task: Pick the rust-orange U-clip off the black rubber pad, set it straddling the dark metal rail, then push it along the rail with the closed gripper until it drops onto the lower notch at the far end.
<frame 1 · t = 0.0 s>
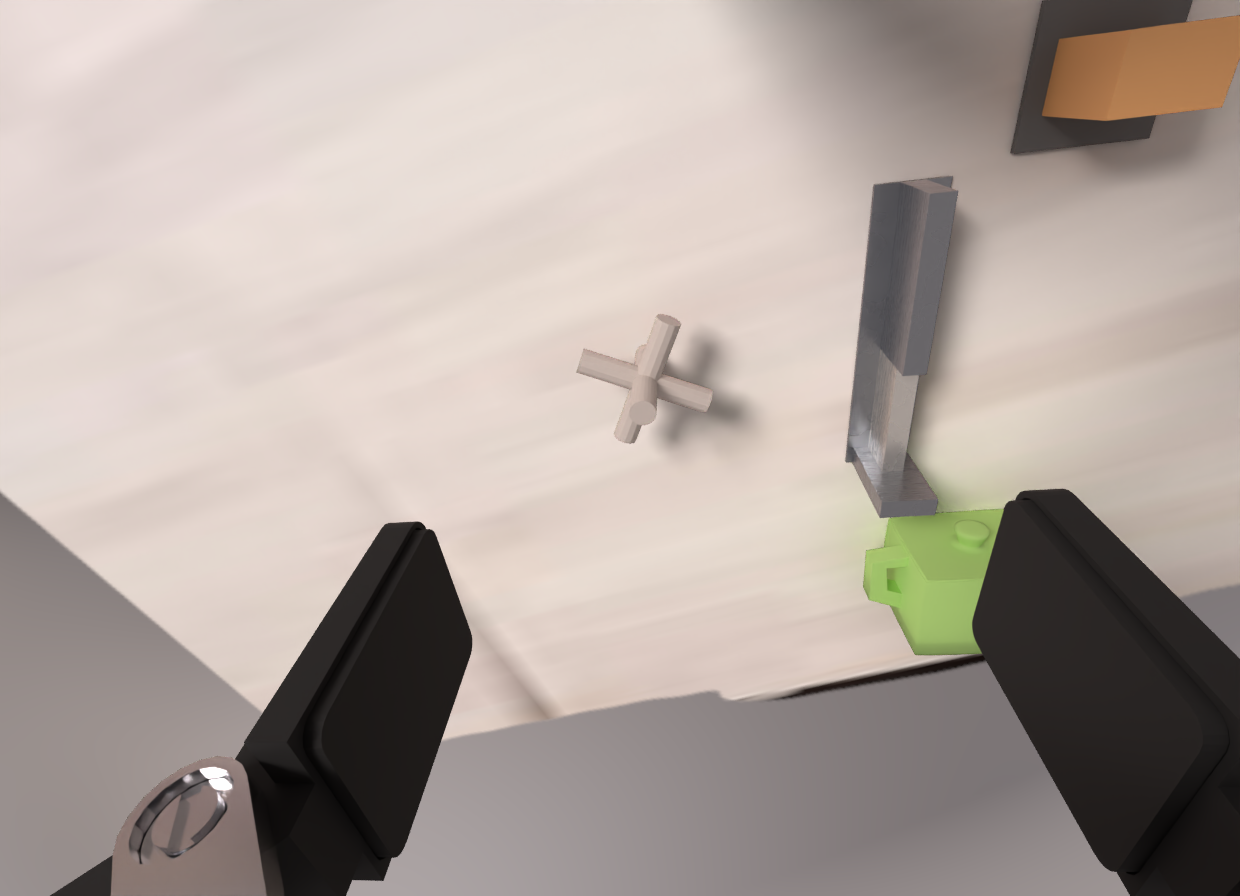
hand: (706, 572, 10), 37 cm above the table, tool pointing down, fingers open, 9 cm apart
rail: (912, 180, 39), on the table
clip: (1099, 72, 35), resting on pad
green square teapot: (950, 536, 55), on the table
pipe connector: (646, 353, 47), on the table
pad: (1095, 72, 36), on the table
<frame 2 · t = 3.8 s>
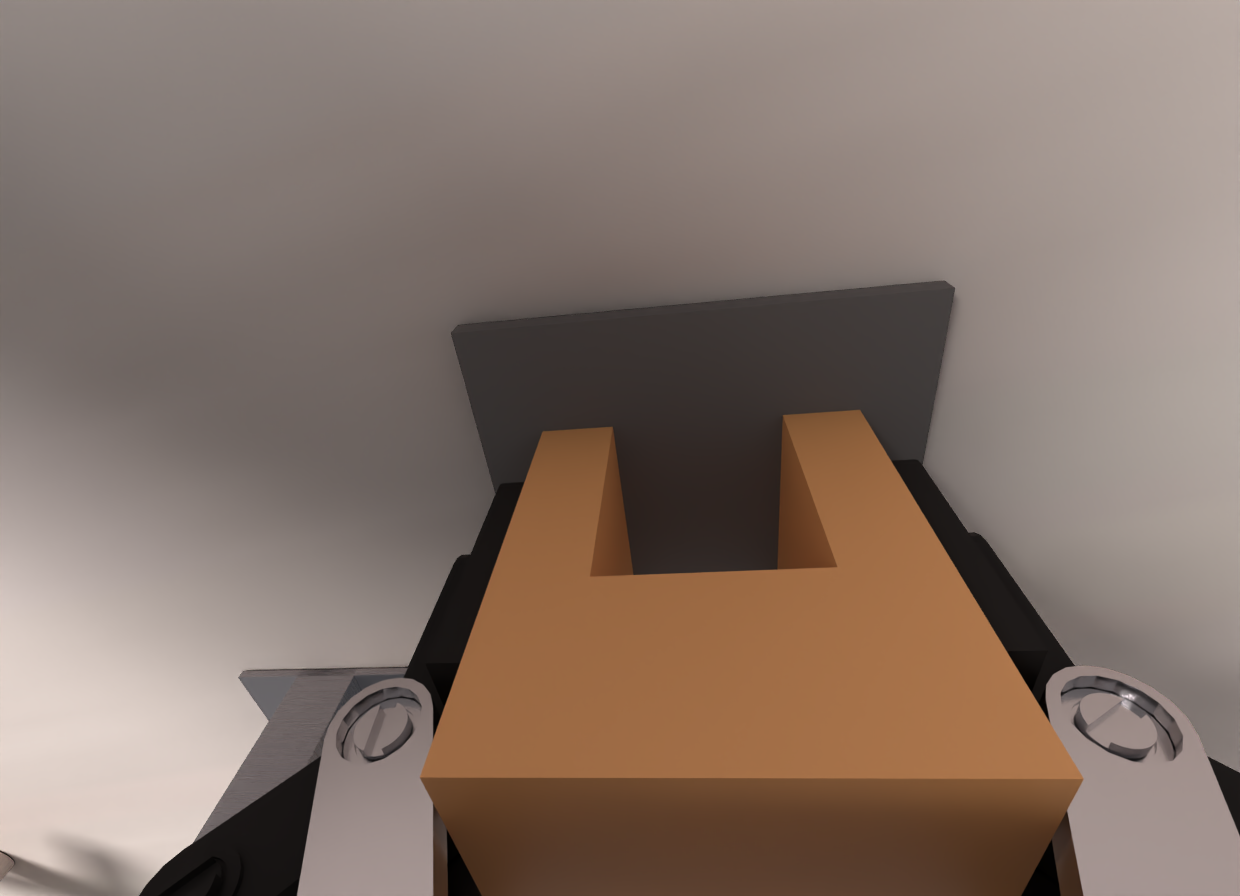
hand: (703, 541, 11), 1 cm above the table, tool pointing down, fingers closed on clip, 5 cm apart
rail: (329, 669, 15), on the table
clip: (701, 510, 11), resting on pad, touching gripper
pad: (700, 497, 12), on the table
when the fingers open (3 cm above the table, at t = 9.1 s): clip stays where it is, resting on rail.
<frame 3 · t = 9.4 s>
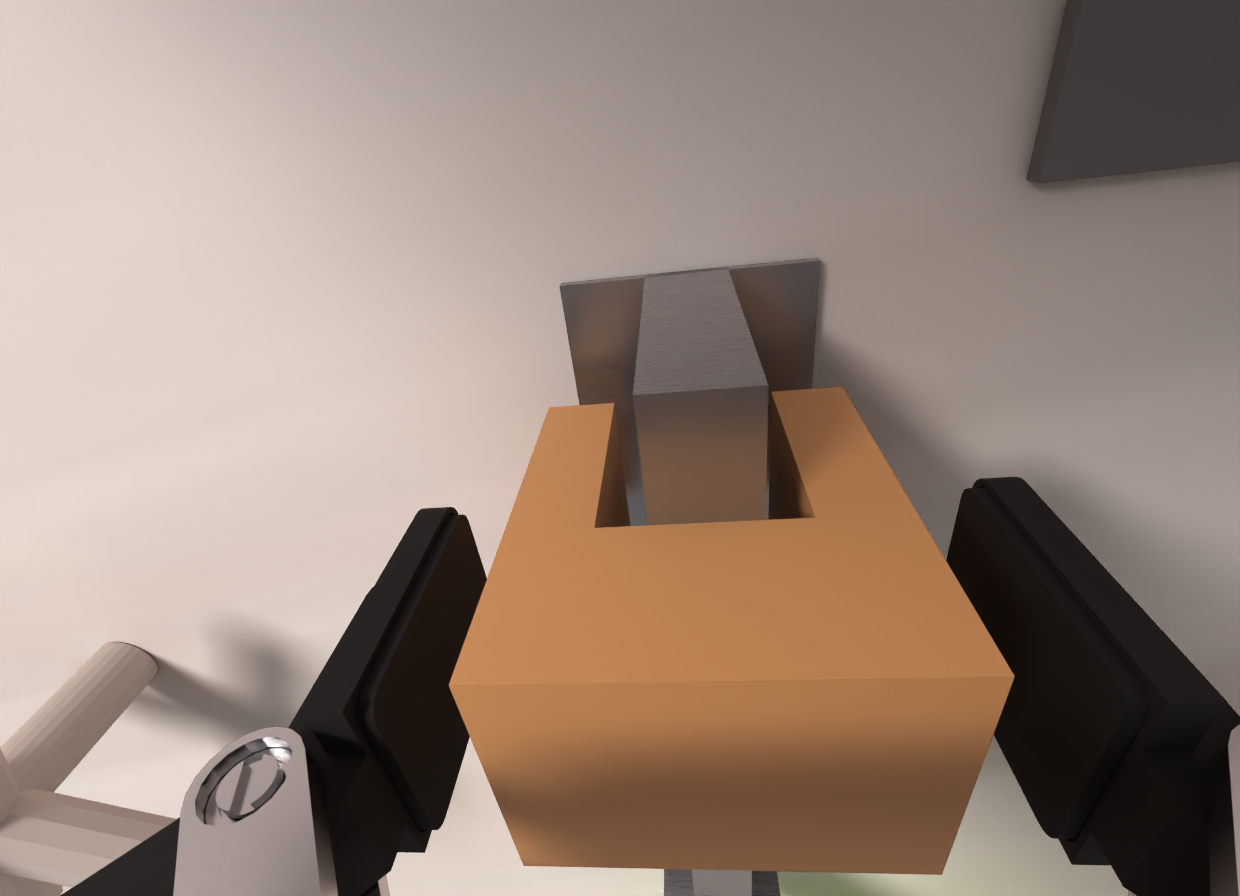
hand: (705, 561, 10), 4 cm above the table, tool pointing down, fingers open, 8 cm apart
rail: (685, 270, 11), on the table
clip: (696, 482, 12), point 1 cm above the table, touching rail
pipe connector: (134, 655, 19), on the table
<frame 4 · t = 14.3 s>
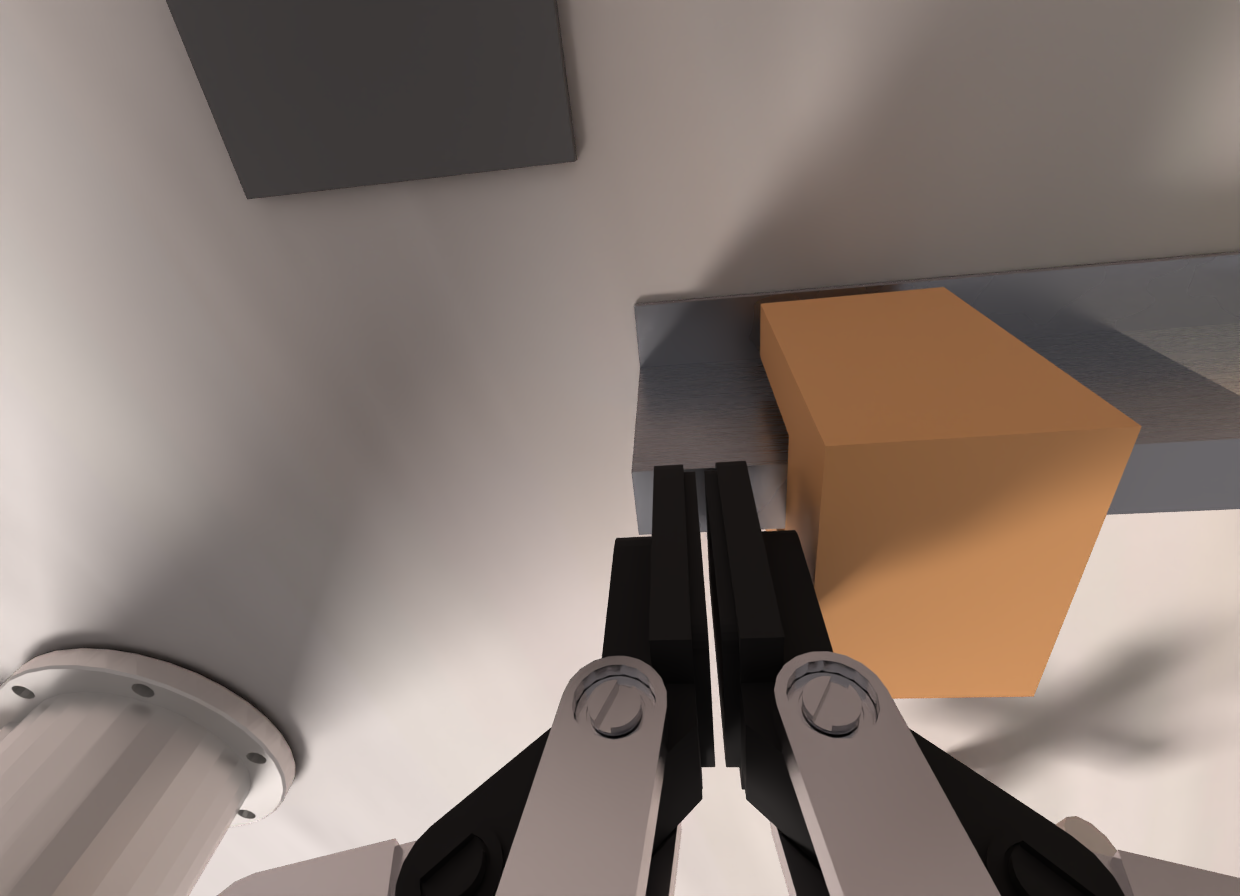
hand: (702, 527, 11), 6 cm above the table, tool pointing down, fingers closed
rail: (642, 390, 16), on the table
clip: (840, 405, 15), point 2 cm above the table, touching gripper
pipe connector: (934, 765, 25), on the table
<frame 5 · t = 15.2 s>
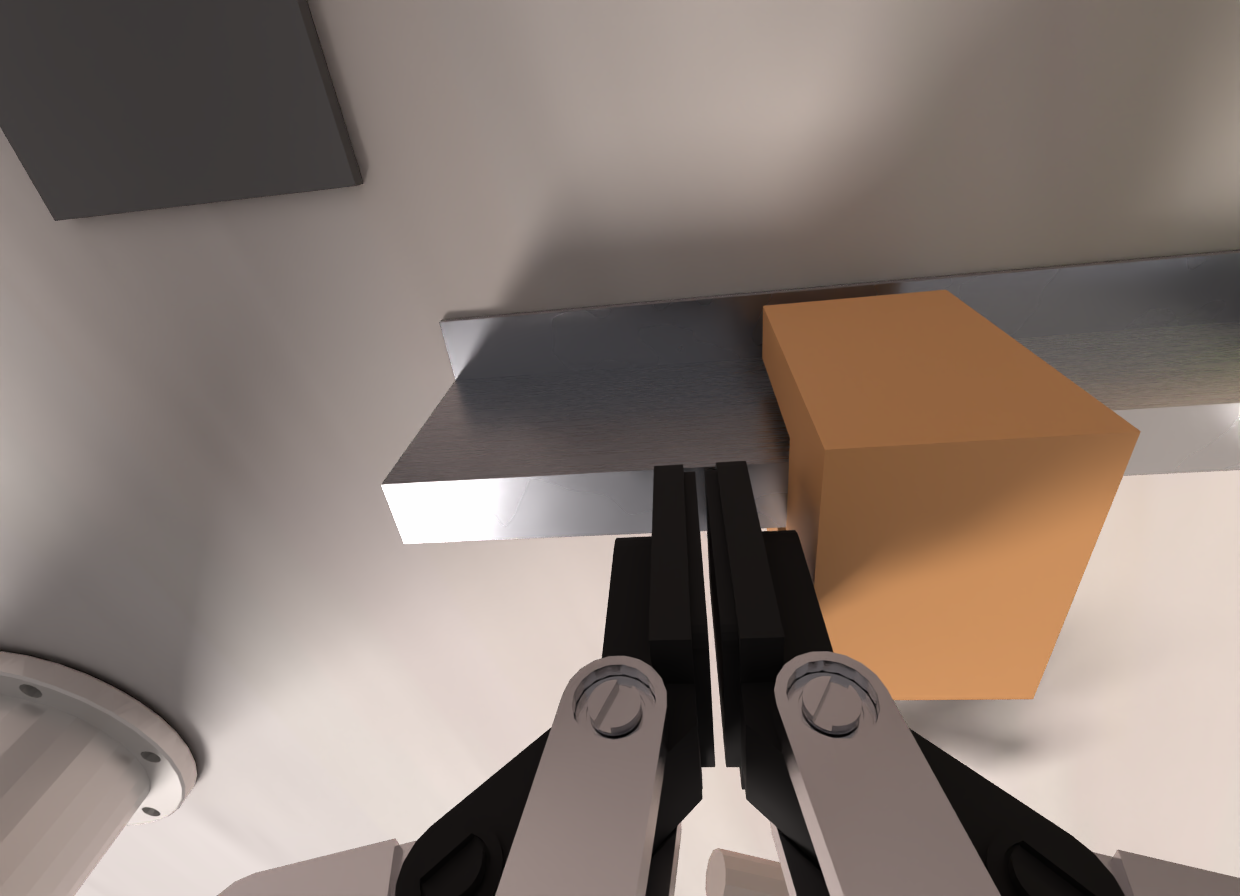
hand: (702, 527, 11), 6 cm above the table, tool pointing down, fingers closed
rail: (464, 402, 17), on the table
clip: (842, 407, 15), point 2 cm above the table, touching gripper, rail
pipe connector: (810, 764, 26), on the table
pad: (122, 0, 12), on the table
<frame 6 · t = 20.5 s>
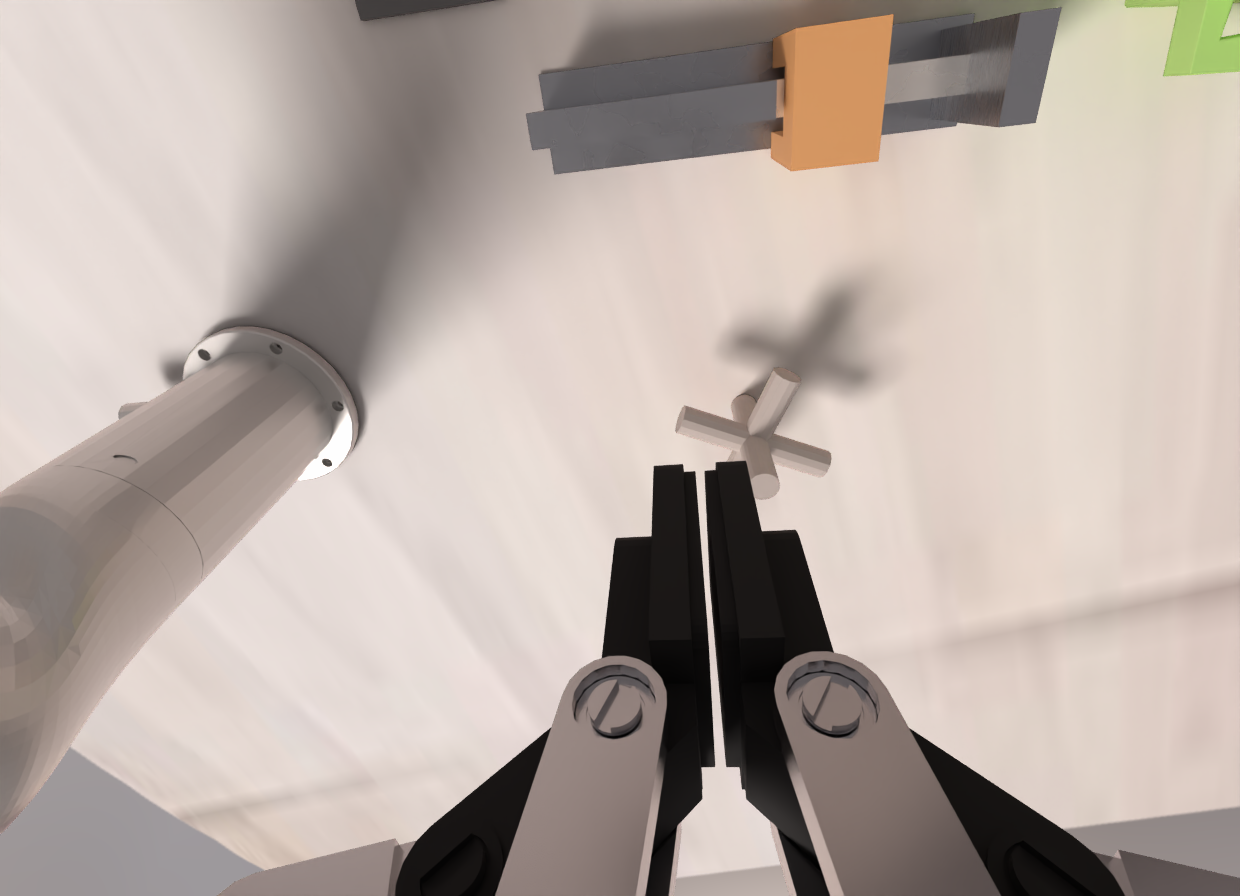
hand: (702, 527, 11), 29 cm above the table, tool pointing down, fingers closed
rail: (547, 126, 33), on the table
clip: (809, 96, 31), resting on rail
pipe connector: (743, 404, 42), on the table
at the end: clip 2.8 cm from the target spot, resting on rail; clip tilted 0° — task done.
